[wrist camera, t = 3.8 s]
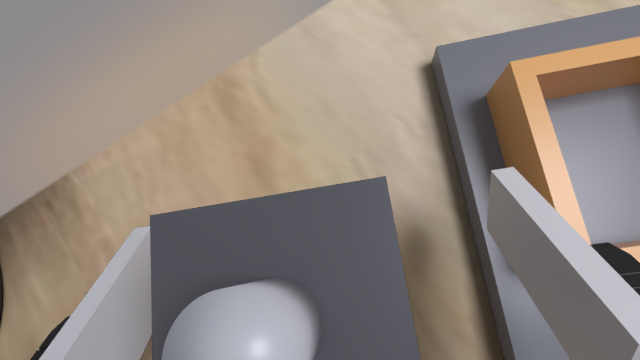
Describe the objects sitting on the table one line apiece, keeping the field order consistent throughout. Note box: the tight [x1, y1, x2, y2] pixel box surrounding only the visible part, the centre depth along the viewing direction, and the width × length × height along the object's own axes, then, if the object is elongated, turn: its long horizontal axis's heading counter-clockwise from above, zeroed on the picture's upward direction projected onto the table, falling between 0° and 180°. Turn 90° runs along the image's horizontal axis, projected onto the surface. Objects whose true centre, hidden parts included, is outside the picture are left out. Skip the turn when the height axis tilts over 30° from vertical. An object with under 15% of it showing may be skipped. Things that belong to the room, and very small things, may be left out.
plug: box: [150, 176, 421, 360], centre depth 11 cm, size 4×4×14 cm
